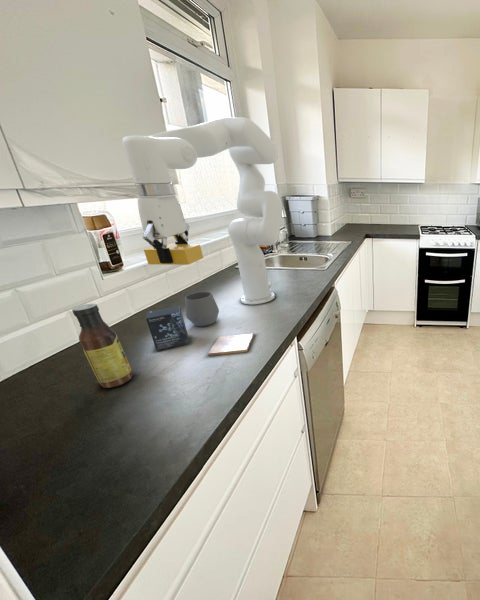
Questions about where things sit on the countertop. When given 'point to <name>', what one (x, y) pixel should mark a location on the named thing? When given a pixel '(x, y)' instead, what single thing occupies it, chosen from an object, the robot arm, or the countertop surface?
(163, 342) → the box
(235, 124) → the robot arm
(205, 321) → the cup
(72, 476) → the countertop surface
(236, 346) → the plate
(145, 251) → the block
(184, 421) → the countertop surface
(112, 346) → the sauce bottle
